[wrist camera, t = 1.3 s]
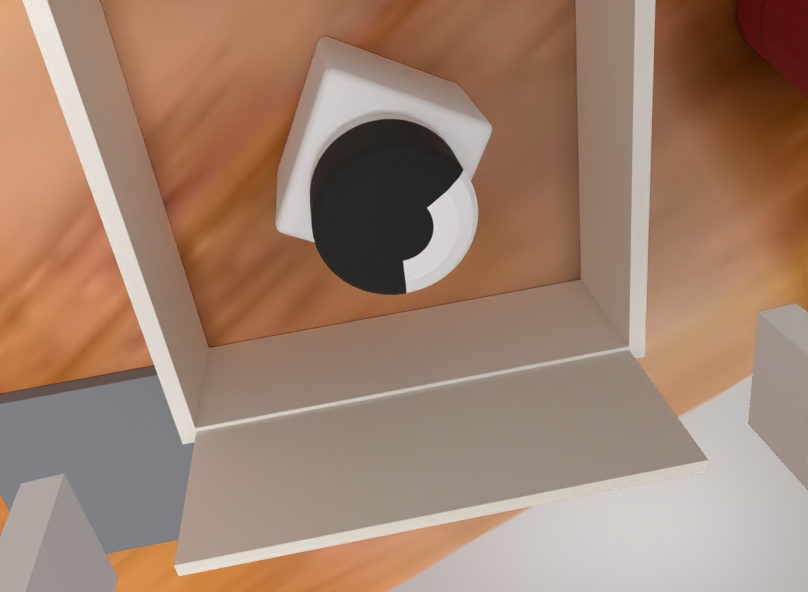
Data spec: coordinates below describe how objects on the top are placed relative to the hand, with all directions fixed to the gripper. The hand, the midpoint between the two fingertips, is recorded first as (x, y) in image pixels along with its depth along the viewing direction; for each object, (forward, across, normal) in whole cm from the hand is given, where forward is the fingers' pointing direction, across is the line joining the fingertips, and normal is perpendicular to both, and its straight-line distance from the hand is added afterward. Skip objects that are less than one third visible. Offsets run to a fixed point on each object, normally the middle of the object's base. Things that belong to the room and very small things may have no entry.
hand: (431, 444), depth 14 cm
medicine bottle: (+25, -2, +2) cm, 26 cm away
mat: (+26, +17, +18) cm, 36 cm away
